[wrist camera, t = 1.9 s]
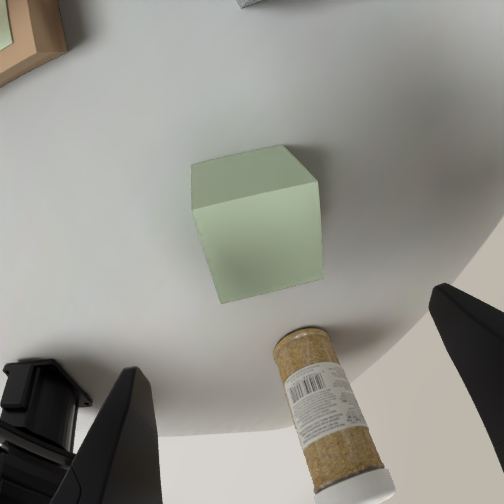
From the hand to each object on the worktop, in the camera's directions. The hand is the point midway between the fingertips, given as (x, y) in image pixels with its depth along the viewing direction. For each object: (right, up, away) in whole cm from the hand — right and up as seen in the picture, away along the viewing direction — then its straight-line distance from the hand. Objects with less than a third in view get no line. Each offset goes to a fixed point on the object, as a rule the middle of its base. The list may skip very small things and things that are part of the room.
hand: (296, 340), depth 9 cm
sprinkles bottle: (+3, -5, +15) cm, 16 cm away
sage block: (-2, +5, +8) cm, 10 cm away
